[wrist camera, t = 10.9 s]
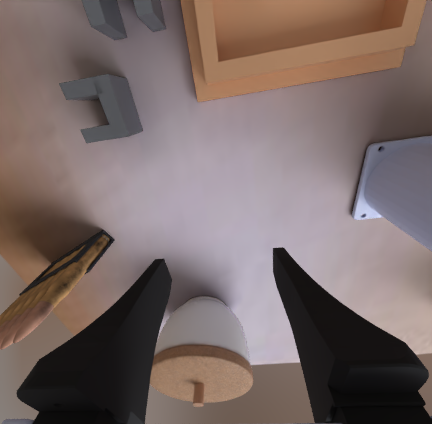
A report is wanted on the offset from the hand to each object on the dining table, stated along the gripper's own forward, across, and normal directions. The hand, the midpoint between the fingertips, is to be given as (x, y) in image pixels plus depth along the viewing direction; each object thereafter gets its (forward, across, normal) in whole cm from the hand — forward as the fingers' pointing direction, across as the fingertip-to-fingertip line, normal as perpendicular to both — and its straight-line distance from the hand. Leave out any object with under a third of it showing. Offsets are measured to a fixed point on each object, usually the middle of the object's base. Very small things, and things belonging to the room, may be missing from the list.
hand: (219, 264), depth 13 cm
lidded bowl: (+10, +5, +19) cm, 22 cm away
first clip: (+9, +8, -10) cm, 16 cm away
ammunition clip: (+10, +19, +5) cm, 22 cm away
